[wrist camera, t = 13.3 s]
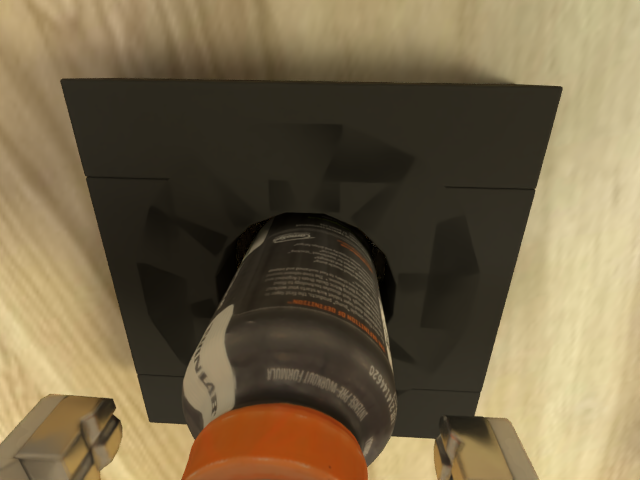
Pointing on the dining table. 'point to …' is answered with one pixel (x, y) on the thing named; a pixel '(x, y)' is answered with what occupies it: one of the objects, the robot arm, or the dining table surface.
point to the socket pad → (315, 209)
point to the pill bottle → (293, 361)
